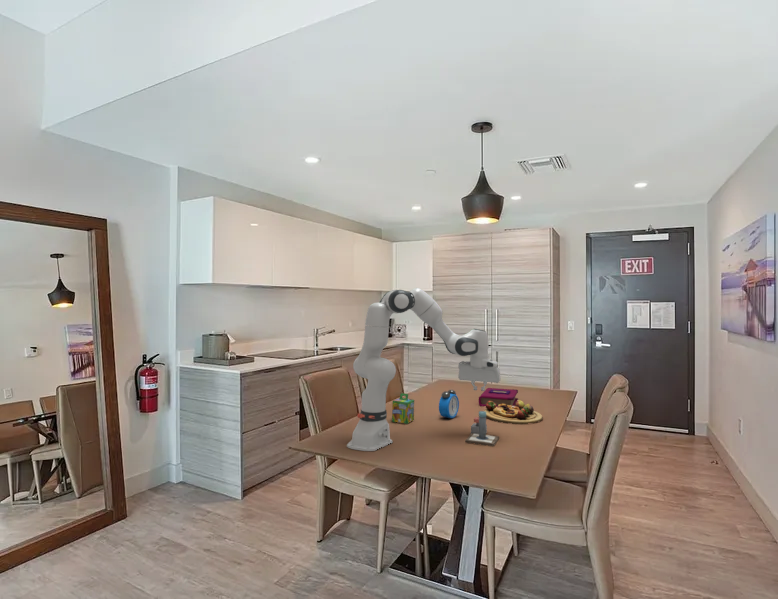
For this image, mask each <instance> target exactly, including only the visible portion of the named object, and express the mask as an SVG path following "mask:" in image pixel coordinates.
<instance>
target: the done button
mask: <svg viewBox="0 0 778 599" xmlns="http://www.w3.org/2000/svg"><path fill="white" fill-rule="evenodd" d="M473 423H476V426H479V416H478V417H477V416H475V417H474V418H473Z"/></svg>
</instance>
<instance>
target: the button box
mask: <svg viewBox="0 0 778 599" xmlns="http://www.w3.org/2000/svg"><path fill="white" fill-rule="evenodd" d="M487 429H488V426H487V424H486V434H487V433H488V430H487ZM472 433H475V434H479V426H476V422H473V423H472V424H471V425H470V435H471V434H472Z"/></svg>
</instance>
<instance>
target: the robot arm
mask: <svg viewBox="0 0 778 599" xmlns="http://www.w3.org/2000/svg"><path fill="white" fill-rule="evenodd" d="M409 310H411V311H412V312H413V313H414V314H415V315H416V316H417V317H418V318H419V319H420V320H421V321H422V322H423V323H424V324H426V325H427V326H429V327H430V328H432V329H433V331H434V332H435V333H437V335H438V337H439V338H441V340H442V341H443V343H444V345H445V348H446V350H447V351H448V352H449V353H450V354H452V355H457V356H460V357H467V356H469V361H464V360H462V361H459V362H458V375H457V376H458V380H460V381H469V382H470V383H471V385H472V387H473V391H477V390H478V386H477V385H476V382H480V383H481V382H483V384H484V385H482V386H481V387H480V390H481V392H484V391H485V390H486V386H487V384H488V383H494V384H498V383H500V382H501V371H500V367H498V366H499V363H498V362H499V361H496V360H493V359H490V358H489V352H488V350H489V334H488V332H487V331H486V330H484V329H480V328H473V329H471V330H470V331H469V332H467V333H465V334H462V335H460V334H458V333H455V332H454V331H453V330H451V328H450V327H449V326H448V324H446V323H445V322H444V319H443V314H444V312H443V309H442V308H441V307H440V305H439V304H438V303H437V301H436V300H435V299H434V298H433V297H432V296H431V295H430V294H429V293H427V292H426V291H425V290H423V289H422V288H420V287H414V288H412V289H410V291H406V290H403V289H392V290H389V291H387V292H386V293H385V294H383V296H382V297H381V299H380V301H379V302H373V303H372V304H370V305H369V306H368V309H367V312H366V318H365V324H364V325H365V327H364V338H363V344H362V347H361V349H360V352H359V355H358V356H357V357H356V358H355V360H354V361H353V364H352V368H353V371H354V373H355V374H357V375H358V376H359V377H361V378H364V379H367V383H366V384H367V385H366V387H365V389H364V390H363V392H362V393H361V410H360V412H359V413H357V418H358V419H359V420H358V423H357V424H356V426H355V428H354V430H353V432H352V439H351V440H350V441H349V442H348V443H346V448H348V449H351V450H356V451H364V452H375V451H377V449H378V450H379V448H380V449H382V448H384V447H387V446H389V445H391V444H392V443H393V439H391V436H390V435H391V434H390V432H391V431H390V424H389V423H388V420H387V414H388V413H387V409H386V404H387V402H386V401H387V391H388V387H389V385H390V382H391V381H392V380H393V379H394V378H395V377H396V376H395V375H396V373H397V367H396V365H395V364H394V362H392V361H391V360H389V359H388V358H387V357H381V355H382V352H383V350H384V349H385V347H386V346H387V345H388V343H389V331H390V330H389V327H390V319H391V317H392V315H393V314H403V313H405V312H407V311H409ZM390 443H391V444H390ZM388 444H389V445H388ZM381 447H382V448H381Z"/></svg>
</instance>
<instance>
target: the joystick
mask: <svg viewBox="0 0 778 599" xmlns="http://www.w3.org/2000/svg"><path fill="white" fill-rule="evenodd" d="M478 417H479V438H480V439H485V438H486V435H487V433H486V425H487V418H486V412H485V411H484V410H480V411H478Z"/></svg>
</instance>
